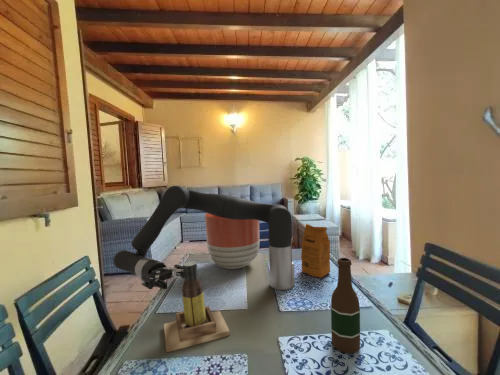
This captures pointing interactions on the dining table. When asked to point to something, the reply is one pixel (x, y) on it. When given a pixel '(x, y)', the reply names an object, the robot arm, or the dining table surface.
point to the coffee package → (315, 251)
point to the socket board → (194, 331)
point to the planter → (232, 241)
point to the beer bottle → (345, 311)
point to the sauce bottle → (193, 296)
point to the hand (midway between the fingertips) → (177, 281)
